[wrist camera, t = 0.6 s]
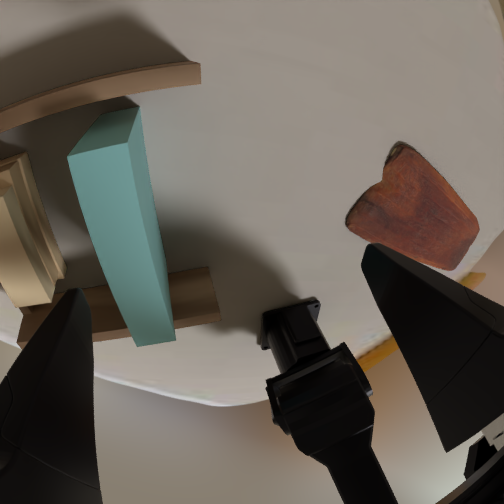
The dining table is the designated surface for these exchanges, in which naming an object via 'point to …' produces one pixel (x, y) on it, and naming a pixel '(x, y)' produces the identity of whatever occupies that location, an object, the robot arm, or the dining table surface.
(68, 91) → the walnut rack
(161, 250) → the teal sheet
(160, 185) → the dining table surface
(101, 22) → the dining table surface
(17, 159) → the offcut stack
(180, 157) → the dining table surface
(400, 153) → the wooden tablet
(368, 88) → the dining table surface
